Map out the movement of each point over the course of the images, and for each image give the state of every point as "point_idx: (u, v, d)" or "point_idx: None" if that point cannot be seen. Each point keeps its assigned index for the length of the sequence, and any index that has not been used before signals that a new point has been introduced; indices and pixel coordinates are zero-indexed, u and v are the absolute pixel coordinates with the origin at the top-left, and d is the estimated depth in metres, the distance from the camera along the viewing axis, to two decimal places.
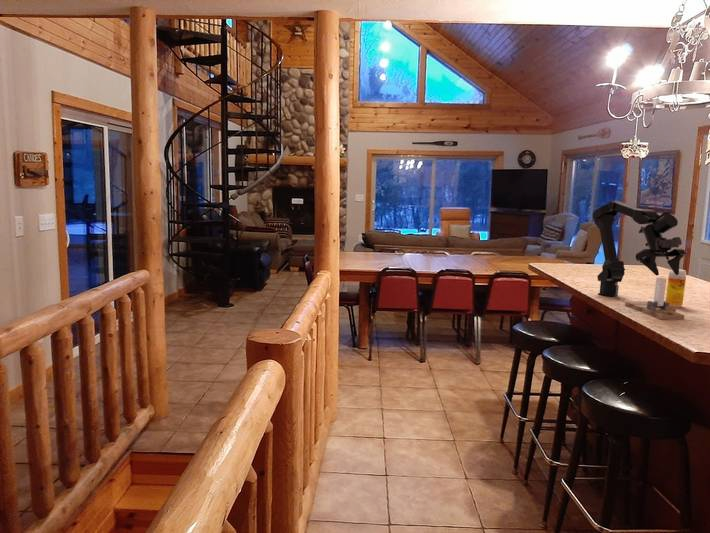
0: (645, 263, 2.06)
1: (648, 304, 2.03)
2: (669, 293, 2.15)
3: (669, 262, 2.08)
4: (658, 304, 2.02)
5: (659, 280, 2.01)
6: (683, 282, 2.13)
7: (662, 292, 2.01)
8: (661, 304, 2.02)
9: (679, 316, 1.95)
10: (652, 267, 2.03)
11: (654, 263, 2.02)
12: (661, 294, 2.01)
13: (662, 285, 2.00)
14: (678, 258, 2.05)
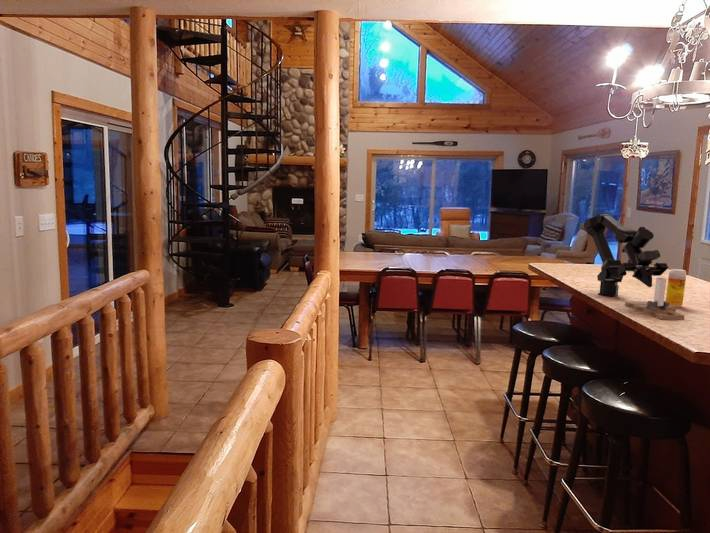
0: (637, 277, 2.12)
1: (648, 304, 2.03)
2: (669, 293, 2.15)
3: None
4: (658, 304, 2.02)
5: (659, 280, 2.01)
6: (683, 282, 2.13)
7: (662, 292, 2.01)
8: (661, 304, 2.02)
9: (679, 316, 1.95)
10: (644, 279, 2.09)
11: (645, 275, 2.09)
12: (661, 294, 2.01)
13: (662, 285, 2.00)
14: (650, 271, 2.09)
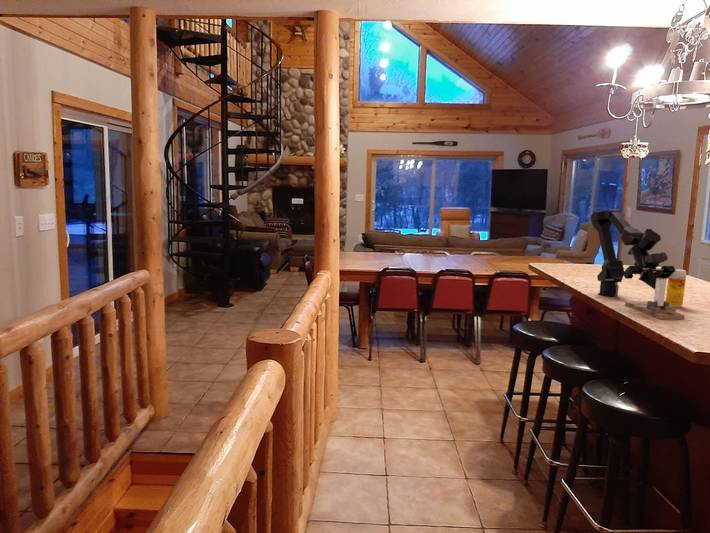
0: (644, 280, 2.08)
1: (648, 304, 2.03)
2: (669, 293, 2.15)
3: None
4: (658, 304, 2.02)
5: (659, 280, 2.00)
6: (683, 282, 2.13)
7: (662, 292, 2.01)
8: (661, 304, 2.02)
9: (679, 316, 1.95)
10: (651, 282, 2.05)
11: (652, 278, 2.05)
12: (661, 294, 2.01)
13: (662, 285, 2.00)
14: (657, 274, 2.05)
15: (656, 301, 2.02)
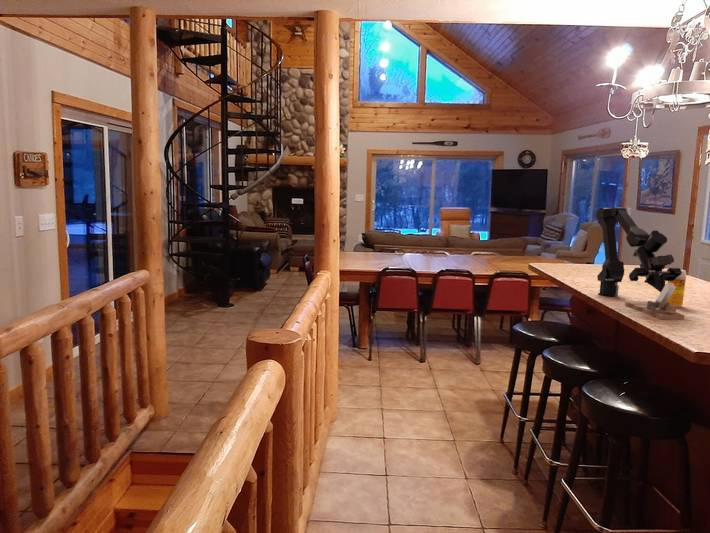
0: (650, 282, 2.04)
1: (648, 304, 2.03)
2: None
3: None
4: (658, 306, 2.01)
5: (668, 287, 1.96)
6: (683, 282, 2.13)
7: (667, 297, 1.98)
8: (661, 306, 2.01)
9: (679, 316, 1.95)
10: (657, 285, 2.01)
11: (658, 281, 2.01)
12: (665, 299, 1.99)
13: (669, 292, 1.97)
14: (663, 276, 2.02)
15: (658, 303, 2.01)
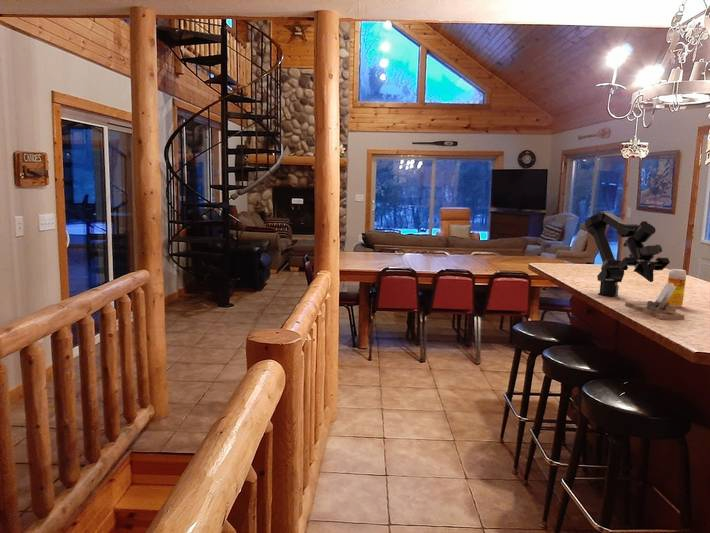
0: (639, 271, 2.11)
1: (648, 304, 2.03)
2: None
3: None
4: (658, 306, 2.01)
5: (668, 287, 1.96)
6: (683, 282, 2.13)
7: (667, 297, 1.98)
8: (661, 306, 2.01)
9: (679, 316, 1.95)
10: (645, 274, 2.08)
11: (646, 270, 2.08)
12: (665, 299, 1.99)
13: (669, 292, 1.97)
14: (651, 265, 2.08)
15: (658, 303, 2.01)
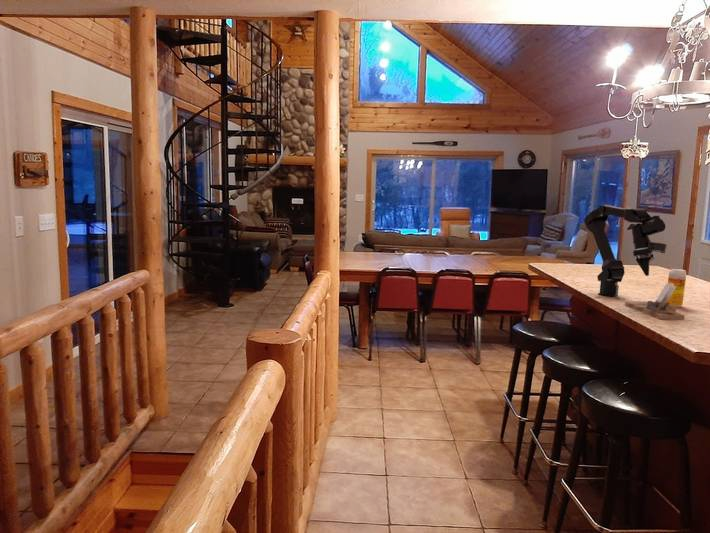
0: (639, 261, 2.14)
1: (648, 304, 2.03)
2: None
3: None
4: (658, 306, 2.01)
5: (668, 287, 1.96)
6: (683, 282, 2.13)
7: (667, 297, 1.98)
8: (661, 306, 2.01)
9: (679, 316, 1.95)
10: (646, 267, 2.13)
11: (649, 264, 2.13)
12: (665, 299, 1.99)
13: (669, 292, 1.97)
14: (650, 260, 2.15)
15: (658, 303, 2.01)
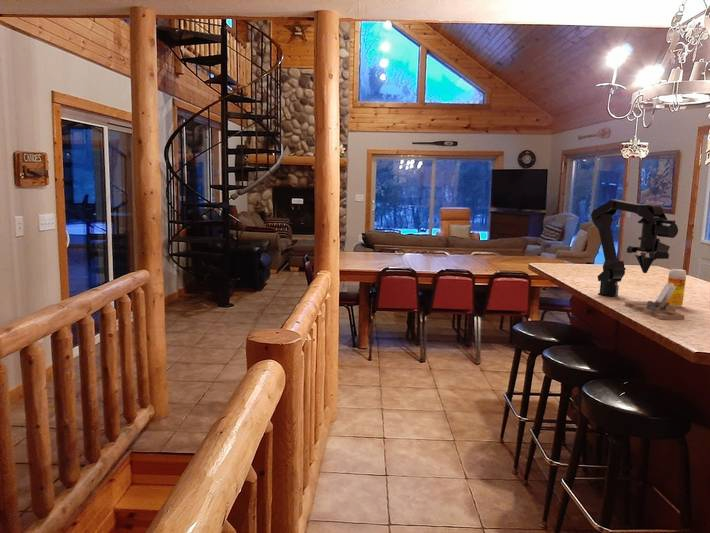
0: (645, 260, 2.14)
1: (648, 304, 2.03)
2: None
3: None
4: (658, 306, 2.01)
5: (668, 287, 1.96)
6: (683, 282, 2.13)
7: (667, 297, 1.98)
8: (661, 306, 2.01)
9: (679, 316, 1.95)
10: (648, 265, 2.16)
11: None
12: (665, 299, 1.99)
13: (669, 292, 1.97)
14: None
15: (658, 303, 2.01)
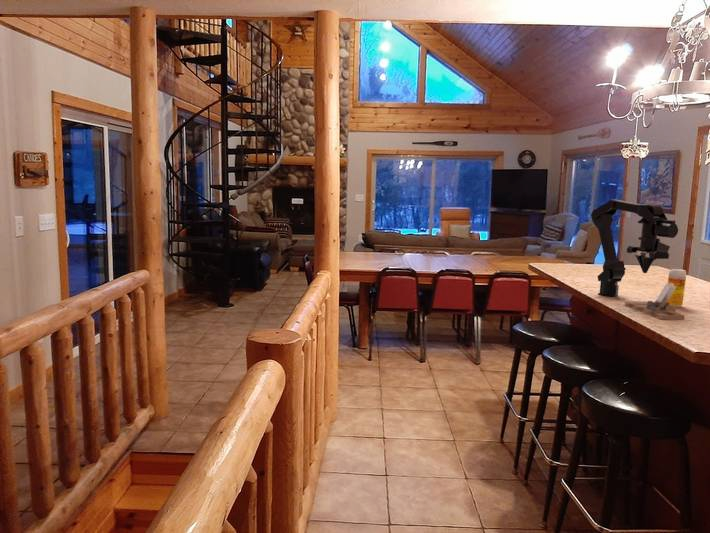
0: (645, 260, 2.14)
1: (648, 304, 2.03)
2: None
3: None
4: (658, 306, 2.01)
5: (668, 287, 1.96)
6: (683, 282, 2.13)
7: (667, 297, 1.98)
8: (661, 306, 2.01)
9: (679, 316, 1.95)
10: (648, 265, 2.16)
11: None
12: (665, 299, 1.99)
13: (669, 292, 1.97)
14: None
15: (658, 303, 2.01)
